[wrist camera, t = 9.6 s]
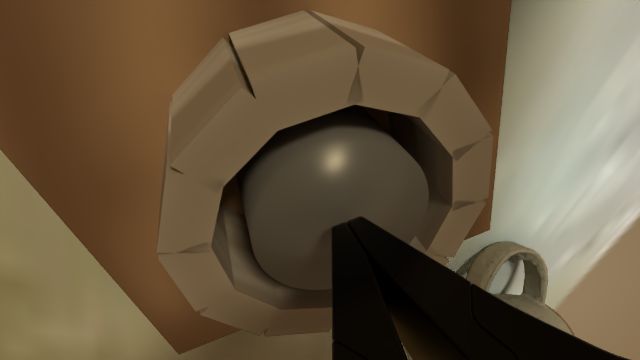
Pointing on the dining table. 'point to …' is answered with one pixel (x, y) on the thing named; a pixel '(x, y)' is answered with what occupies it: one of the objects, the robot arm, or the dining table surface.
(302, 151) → the smooth gray stone
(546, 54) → the dining table surface
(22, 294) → the dining table surface
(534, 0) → the dining table surface
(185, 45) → the brown board with ring
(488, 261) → the ceramic mug
